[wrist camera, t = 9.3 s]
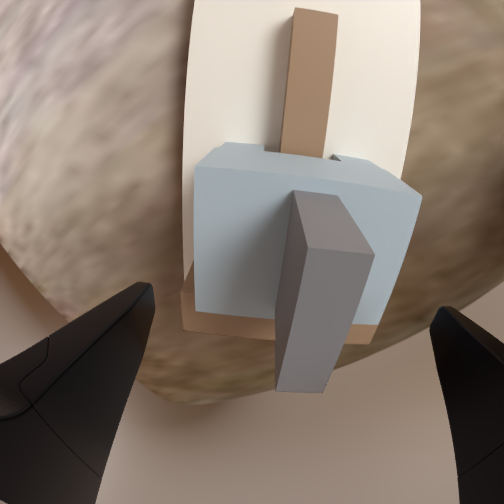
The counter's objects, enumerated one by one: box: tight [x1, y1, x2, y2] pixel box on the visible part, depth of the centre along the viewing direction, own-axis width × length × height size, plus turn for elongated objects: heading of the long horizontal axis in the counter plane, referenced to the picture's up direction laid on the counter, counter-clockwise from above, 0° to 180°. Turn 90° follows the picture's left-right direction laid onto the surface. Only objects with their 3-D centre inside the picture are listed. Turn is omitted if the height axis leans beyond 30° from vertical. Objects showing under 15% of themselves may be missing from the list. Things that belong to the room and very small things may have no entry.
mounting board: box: [180, 0, 420, 344], centre depth 12 cm, size 12×26×6 cm, turn 175°
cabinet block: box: [194, 142, 423, 393], centre depth 12 cm, size 8×6×10 cm
